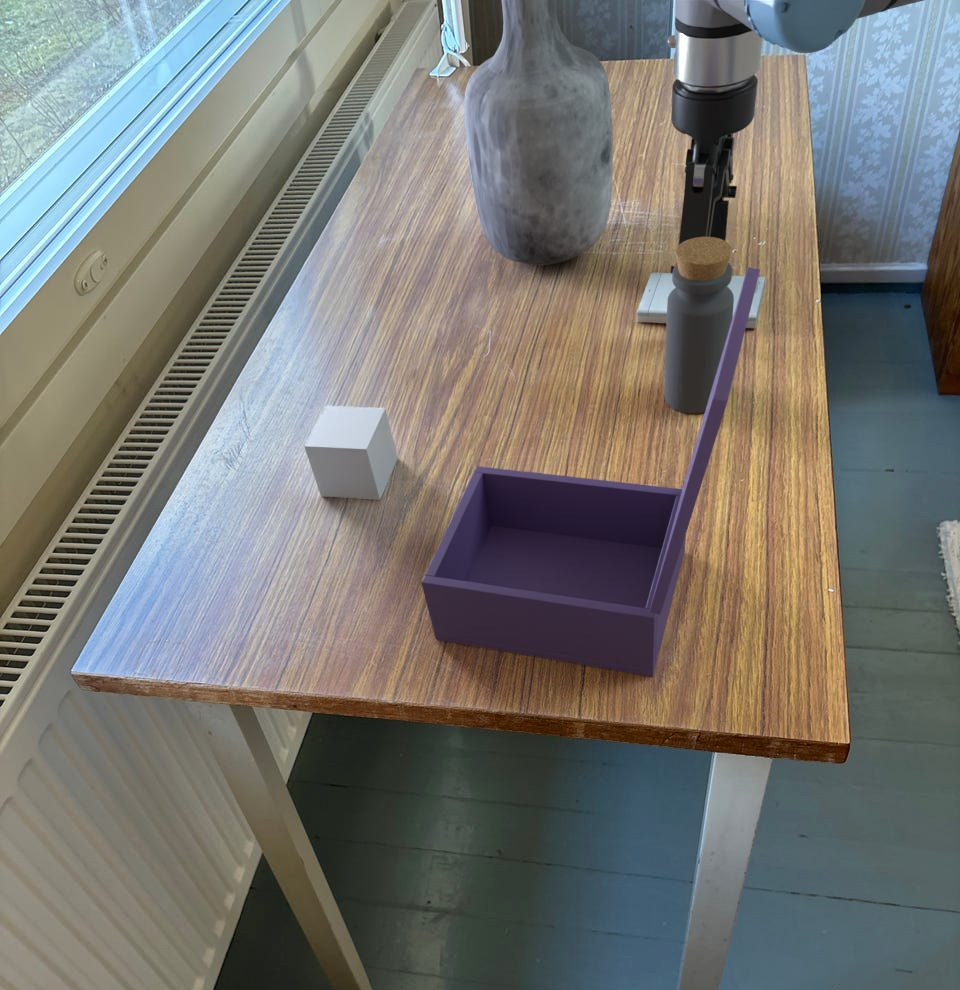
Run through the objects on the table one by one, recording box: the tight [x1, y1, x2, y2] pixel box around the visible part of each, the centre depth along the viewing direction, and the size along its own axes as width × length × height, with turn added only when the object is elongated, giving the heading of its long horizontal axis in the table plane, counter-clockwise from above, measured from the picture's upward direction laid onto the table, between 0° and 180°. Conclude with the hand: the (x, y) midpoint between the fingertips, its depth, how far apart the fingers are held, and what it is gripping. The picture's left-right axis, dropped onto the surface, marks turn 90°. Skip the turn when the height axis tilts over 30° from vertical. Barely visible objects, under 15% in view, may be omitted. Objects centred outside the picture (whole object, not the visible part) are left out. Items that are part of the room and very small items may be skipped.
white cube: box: [303, 405, 399, 501], centre depth 87 cm, size 6×6×6 cm
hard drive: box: [636, 272, 767, 329], centre depth 101 cm, size 2×8×12 cm
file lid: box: [650, 266, 761, 615], centre depth 61 cm, size 18×14×1 cm
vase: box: [463, 0, 614, 266], centre depth 101 cm, size 16×16×30 cm
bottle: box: [664, 237, 734, 415], centre depth 86 cm, size 6×6×15 cm
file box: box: [421, 465, 687, 678], centre depth 74 cm, size 18×14×7 cm
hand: (700, 293), depth 100 cm, fingers open, 13 cm apart
